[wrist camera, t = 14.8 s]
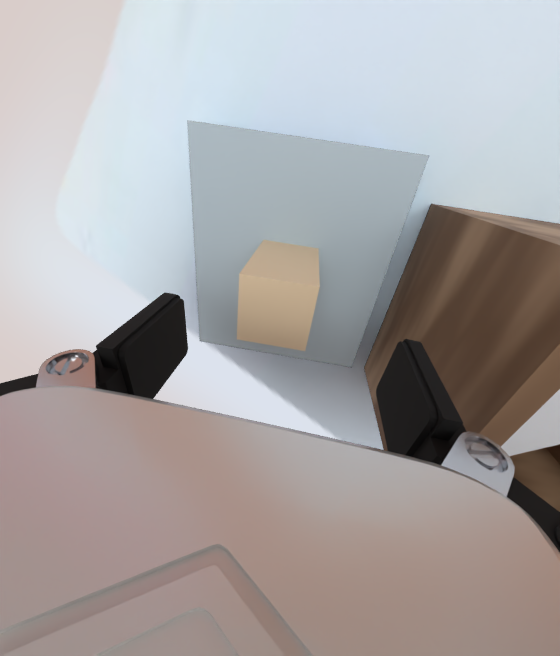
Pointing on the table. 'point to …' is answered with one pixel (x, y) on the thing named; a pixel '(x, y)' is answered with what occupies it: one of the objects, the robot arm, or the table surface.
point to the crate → (484, 325)
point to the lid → (293, 237)
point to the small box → (537, 429)
